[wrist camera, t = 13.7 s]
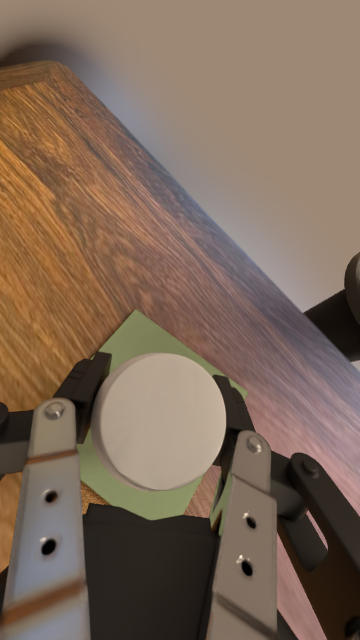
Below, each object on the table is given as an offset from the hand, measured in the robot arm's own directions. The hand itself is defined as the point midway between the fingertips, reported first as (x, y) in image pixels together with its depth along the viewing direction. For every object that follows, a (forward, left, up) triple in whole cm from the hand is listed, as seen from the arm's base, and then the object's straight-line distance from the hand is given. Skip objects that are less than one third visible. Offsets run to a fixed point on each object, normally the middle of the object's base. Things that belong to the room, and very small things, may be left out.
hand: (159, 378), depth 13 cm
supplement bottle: (+2, +1, -5) cm, 5 cm away
